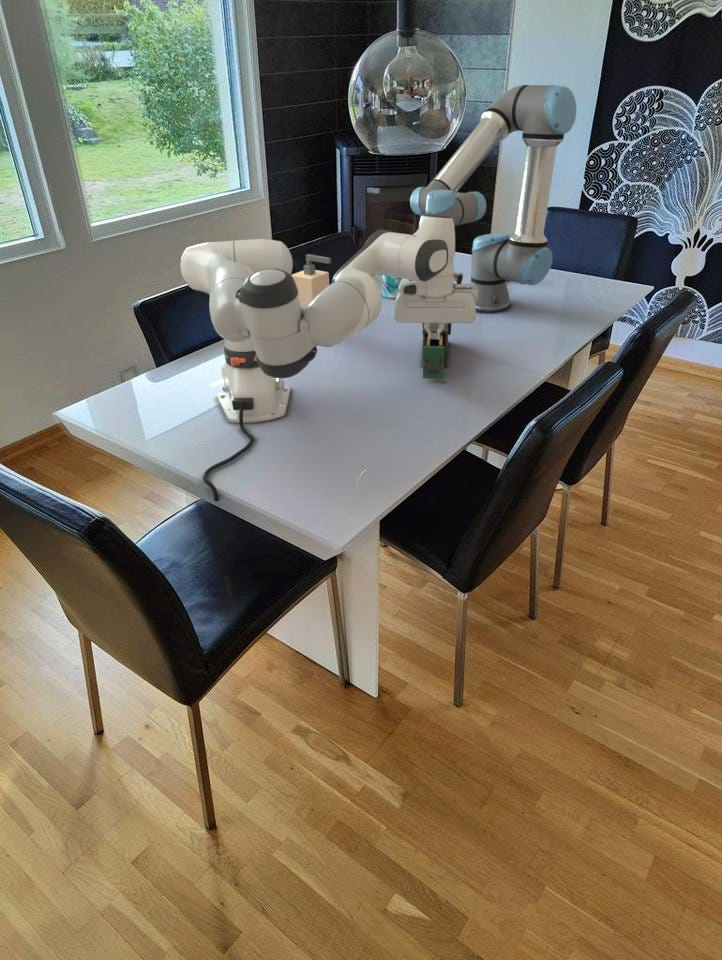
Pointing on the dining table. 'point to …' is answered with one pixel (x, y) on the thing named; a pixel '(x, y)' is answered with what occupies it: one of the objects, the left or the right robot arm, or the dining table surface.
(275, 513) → the dining table surface
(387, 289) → the mug
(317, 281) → the soap dispenser
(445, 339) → the cabinet
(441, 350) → the drawer
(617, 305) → the dining table surface
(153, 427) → the dining table surface
